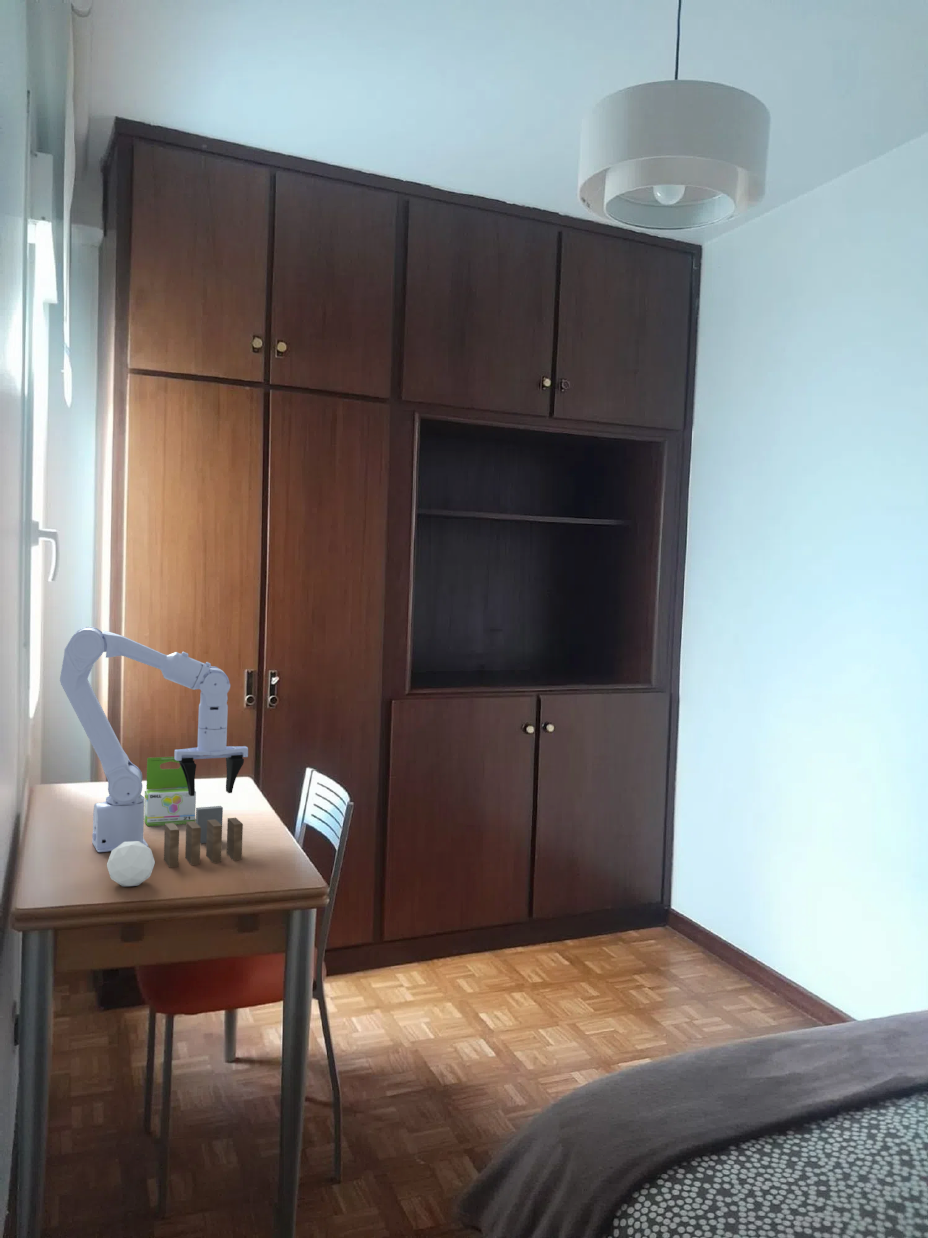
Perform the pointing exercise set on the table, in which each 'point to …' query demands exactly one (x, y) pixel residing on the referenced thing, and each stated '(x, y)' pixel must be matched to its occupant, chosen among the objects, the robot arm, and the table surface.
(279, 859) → the table surface
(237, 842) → the domino
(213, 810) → the domino
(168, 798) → the ink box
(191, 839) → the domino
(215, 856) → the domino
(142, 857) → the geometric ball
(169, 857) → the domino
